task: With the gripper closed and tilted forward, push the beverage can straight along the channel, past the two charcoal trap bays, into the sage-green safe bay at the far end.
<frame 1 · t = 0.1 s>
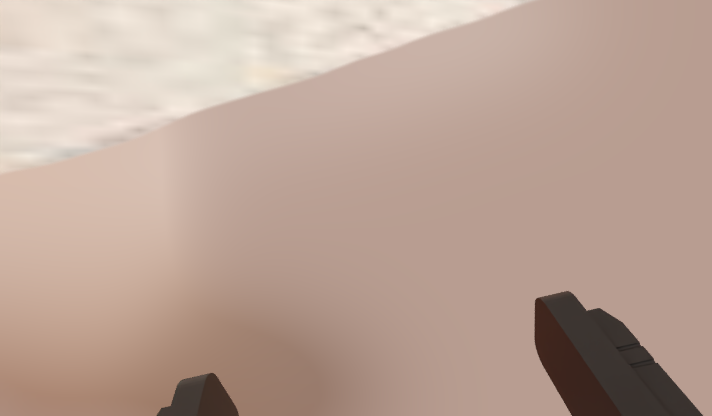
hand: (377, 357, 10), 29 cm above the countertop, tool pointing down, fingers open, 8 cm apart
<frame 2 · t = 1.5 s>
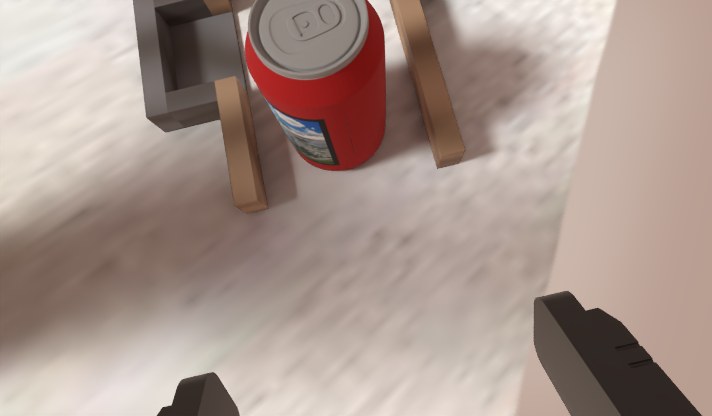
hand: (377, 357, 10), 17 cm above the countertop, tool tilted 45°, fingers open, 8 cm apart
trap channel: (312, 17, 32), on the countertop
beverage can: (338, 131, 30), on the countertop
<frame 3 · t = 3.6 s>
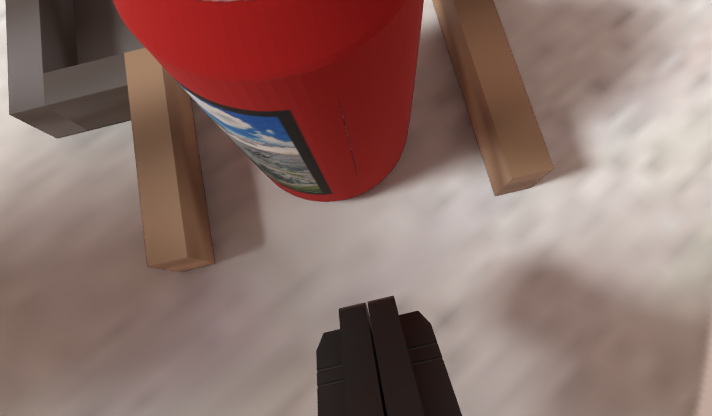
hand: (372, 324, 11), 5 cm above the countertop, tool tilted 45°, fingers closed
beverage can: (331, 134, 19), on the countertop
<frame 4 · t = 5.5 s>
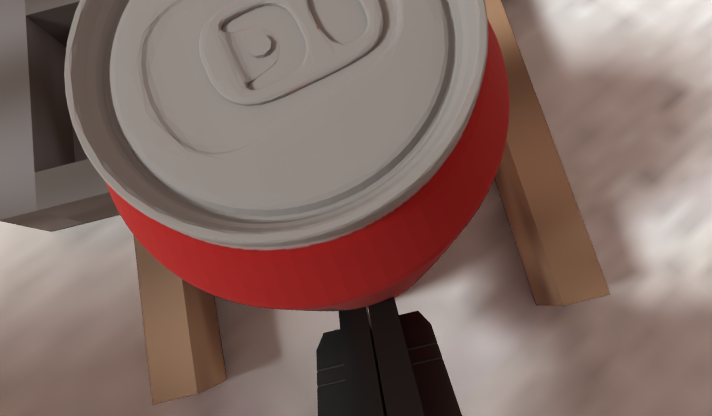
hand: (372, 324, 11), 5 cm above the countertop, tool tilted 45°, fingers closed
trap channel: (305, 28, 19), on the countertop
beverage can: (353, 224, 17), on the countertop, touching gripper
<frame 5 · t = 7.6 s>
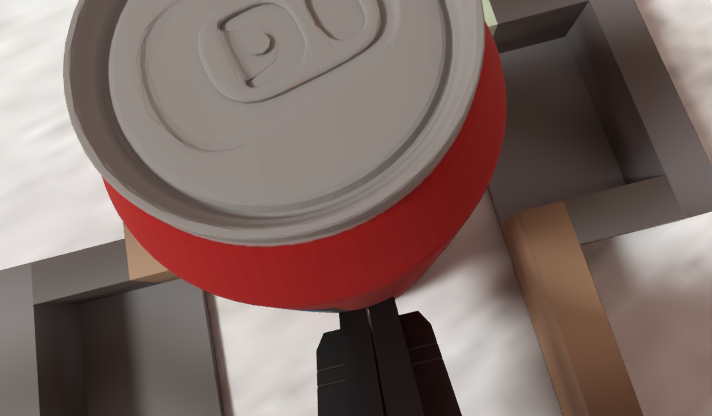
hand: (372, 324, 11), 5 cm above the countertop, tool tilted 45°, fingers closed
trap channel: (358, 287, 16), on the countertop
beverage can: (350, 227, 17), on the countertop, touching gripper
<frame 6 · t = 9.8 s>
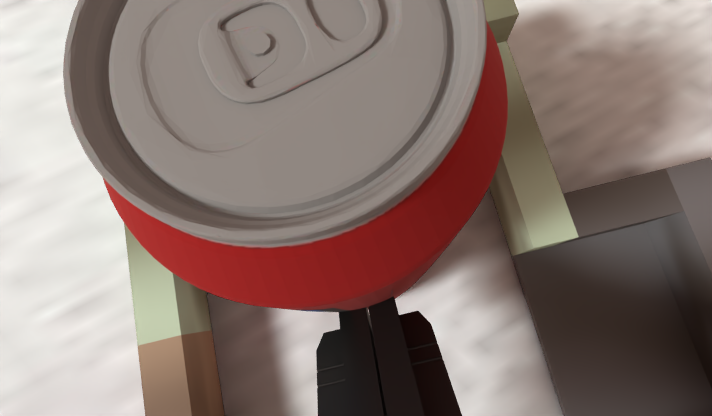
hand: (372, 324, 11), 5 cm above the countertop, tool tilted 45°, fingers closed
beverage can: (351, 226, 17), on the countertop, touching gripper
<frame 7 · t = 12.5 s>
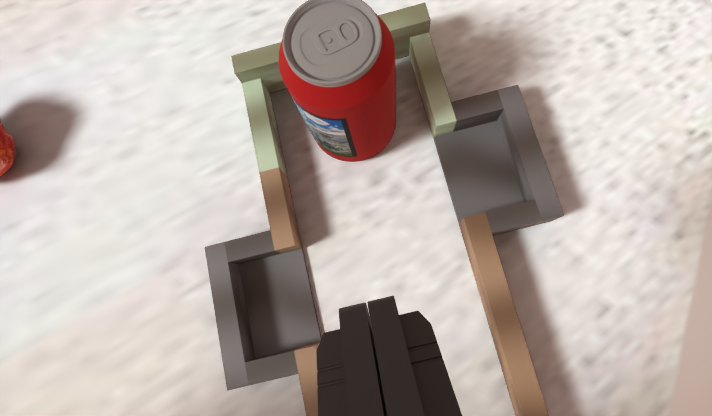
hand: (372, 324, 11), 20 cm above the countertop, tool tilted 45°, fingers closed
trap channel: (384, 255, 32), on the countertop
beverage can: (354, 126, 34), on the countertop
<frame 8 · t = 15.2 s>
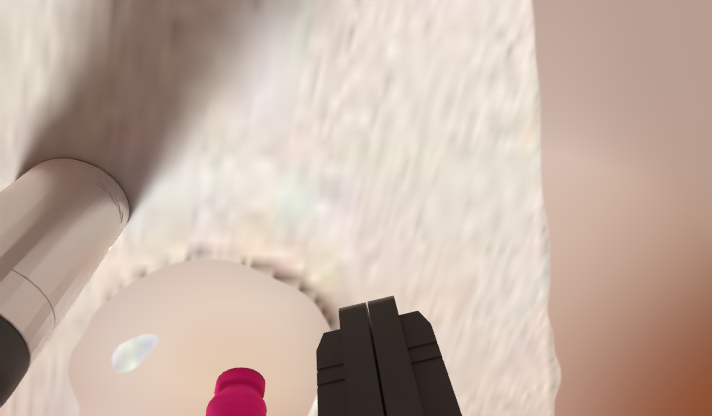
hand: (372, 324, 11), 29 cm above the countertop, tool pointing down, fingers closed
pepper mill: (241, 381, 56), on the countertop
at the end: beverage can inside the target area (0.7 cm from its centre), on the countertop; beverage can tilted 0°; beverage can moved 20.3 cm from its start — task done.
